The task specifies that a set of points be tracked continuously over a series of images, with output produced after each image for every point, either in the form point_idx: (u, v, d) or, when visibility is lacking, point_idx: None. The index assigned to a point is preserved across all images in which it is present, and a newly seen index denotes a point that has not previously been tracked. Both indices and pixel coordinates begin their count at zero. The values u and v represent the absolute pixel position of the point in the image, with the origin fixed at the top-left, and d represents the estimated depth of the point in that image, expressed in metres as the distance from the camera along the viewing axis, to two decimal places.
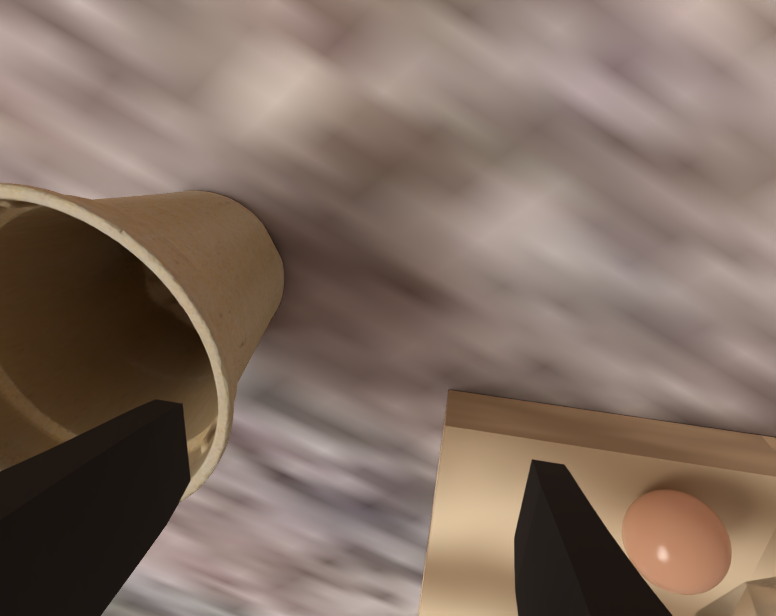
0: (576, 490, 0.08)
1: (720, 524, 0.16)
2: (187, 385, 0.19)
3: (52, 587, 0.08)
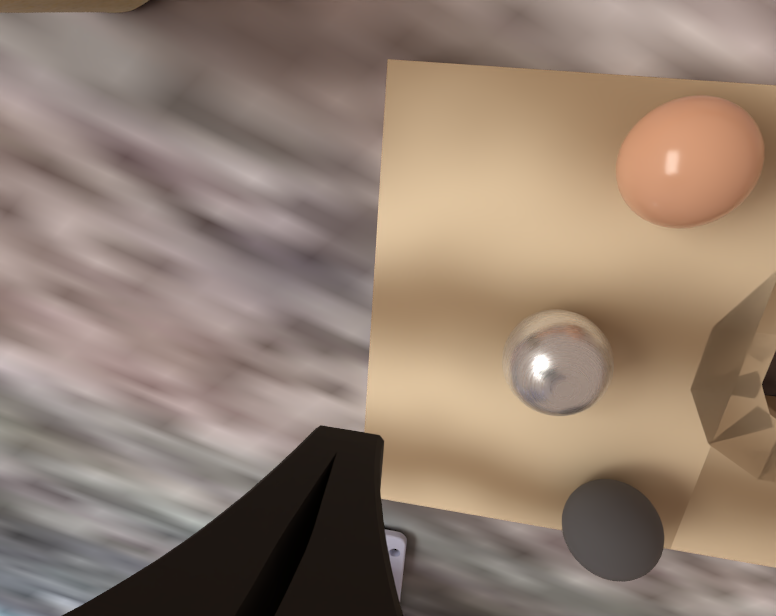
0: (369, 456, 0.09)
1: None
2: None
3: None
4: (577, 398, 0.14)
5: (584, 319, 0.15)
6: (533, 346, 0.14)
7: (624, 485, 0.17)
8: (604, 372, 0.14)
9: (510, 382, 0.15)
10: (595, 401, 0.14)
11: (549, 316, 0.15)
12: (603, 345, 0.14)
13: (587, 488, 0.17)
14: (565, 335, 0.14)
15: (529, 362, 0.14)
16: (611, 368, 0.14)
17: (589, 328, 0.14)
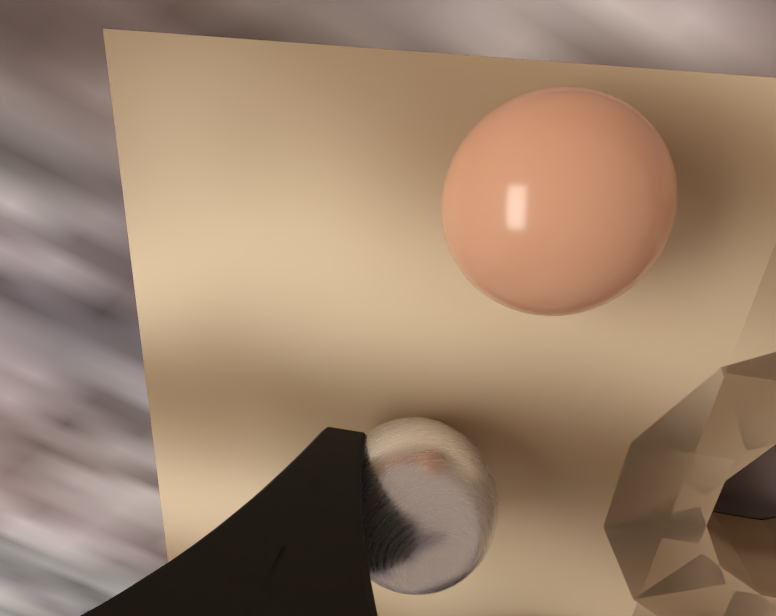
0: (352, 453, 0.09)
1: (649, 122, 0.06)
2: None
3: None
4: (458, 572, 0.09)
5: (448, 434, 0.09)
6: (380, 503, 0.08)
7: None
8: (490, 519, 0.09)
9: None
10: (481, 560, 0.09)
11: (397, 440, 0.09)
12: (482, 475, 0.09)
13: None
14: (428, 474, 0.09)
15: (378, 531, 0.08)
16: (497, 504, 0.09)
17: (459, 451, 0.09)
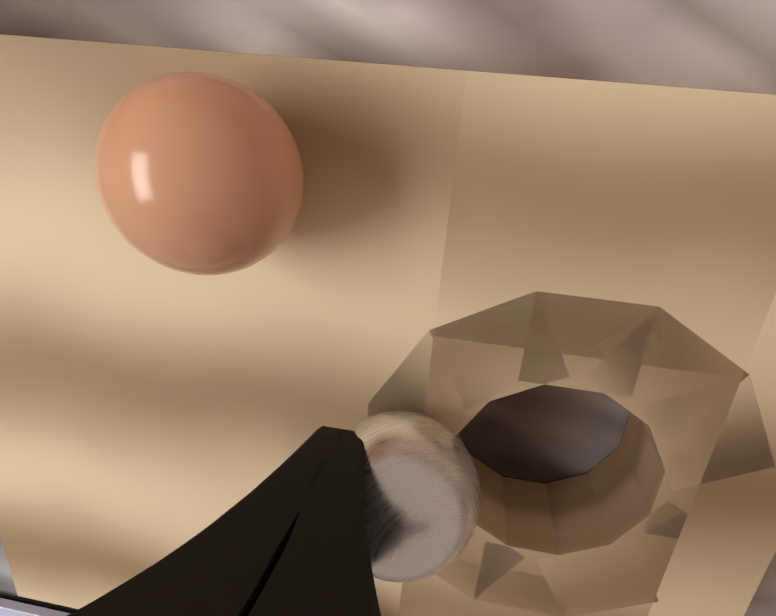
0: (354, 453, 0.09)
1: (250, 101, 0.07)
2: None
3: None
4: None
5: (378, 439, 0.09)
6: None
7: None
8: None
9: None
10: None
11: (426, 425, 0.10)
12: None
13: None
14: (393, 412, 0.10)
15: None
16: None
17: (367, 429, 0.10)
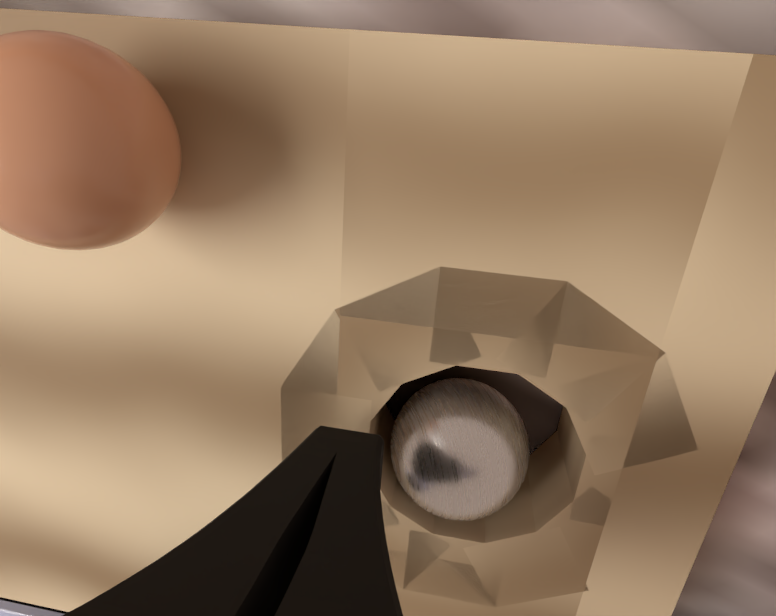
0: (369, 456, 0.09)
1: (99, 61, 0.07)
2: None
3: None
4: (402, 485, 0.11)
5: (467, 418, 0.11)
6: (407, 402, 0.12)
7: None
8: (427, 484, 0.11)
9: None
10: (429, 510, 0.11)
11: (446, 387, 0.11)
12: (446, 458, 0.10)
13: None
14: (420, 413, 0.11)
15: (398, 414, 0.12)
16: (449, 492, 0.10)
17: (450, 429, 0.10)
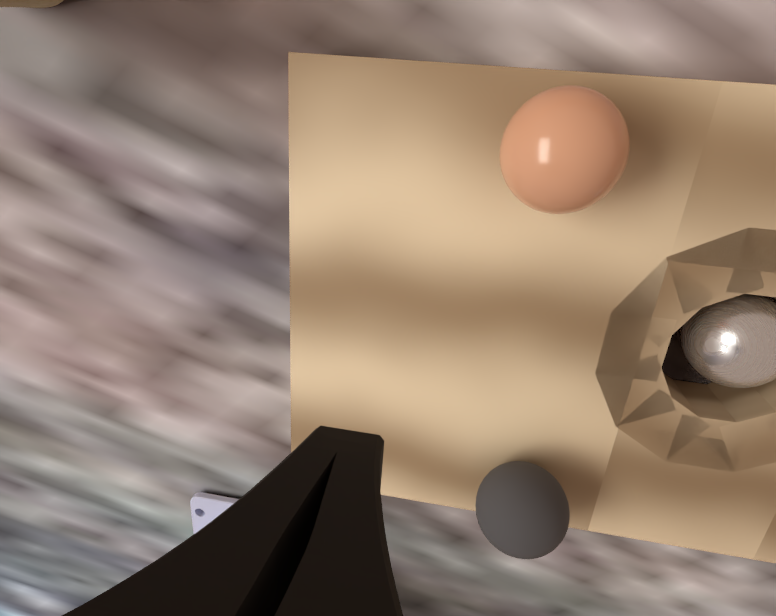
0: (369, 456, 0.09)
1: (613, 103, 0.12)
2: None
3: None
4: (726, 356, 0.16)
5: (760, 297, 0.16)
6: None
7: (533, 466, 0.18)
8: (758, 336, 0.15)
9: (682, 347, 0.18)
10: (754, 367, 0.15)
11: None
12: (766, 315, 0.15)
13: (498, 469, 0.18)
14: (725, 302, 0.16)
15: (689, 323, 0.17)
16: (775, 338, 0.15)
17: (756, 301, 0.16)
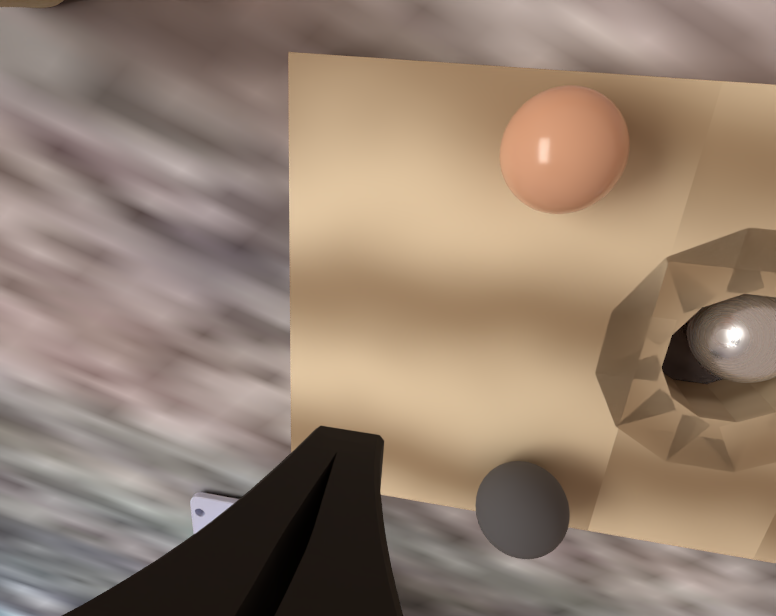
0: (369, 456, 0.09)
1: (613, 103, 0.12)
2: None
3: None
4: (740, 346, 0.16)
5: None
6: None
7: (533, 466, 0.18)
8: (770, 323, 0.15)
9: (689, 346, 0.17)
10: (768, 356, 0.15)
11: None
12: (773, 304, 0.15)
13: (498, 469, 0.18)
14: None
15: (696, 319, 0.17)
16: None
17: None
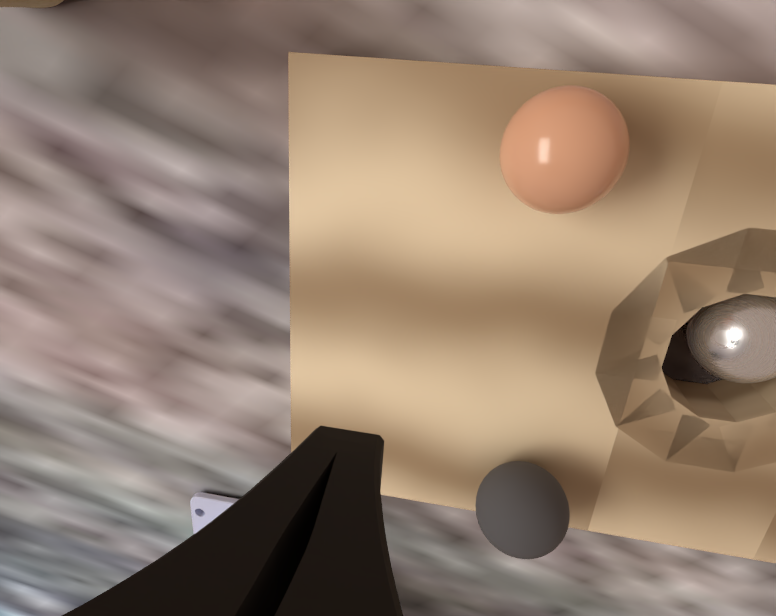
0: (369, 456, 0.09)
1: (613, 103, 0.12)
2: None
3: None
4: (738, 347, 0.16)
5: None
6: None
7: (533, 466, 0.18)
8: (768, 325, 0.15)
9: (688, 346, 0.17)
10: (767, 357, 0.15)
11: None
12: (772, 304, 0.15)
13: (498, 469, 0.18)
14: None
15: (695, 319, 0.17)
16: None
17: None
